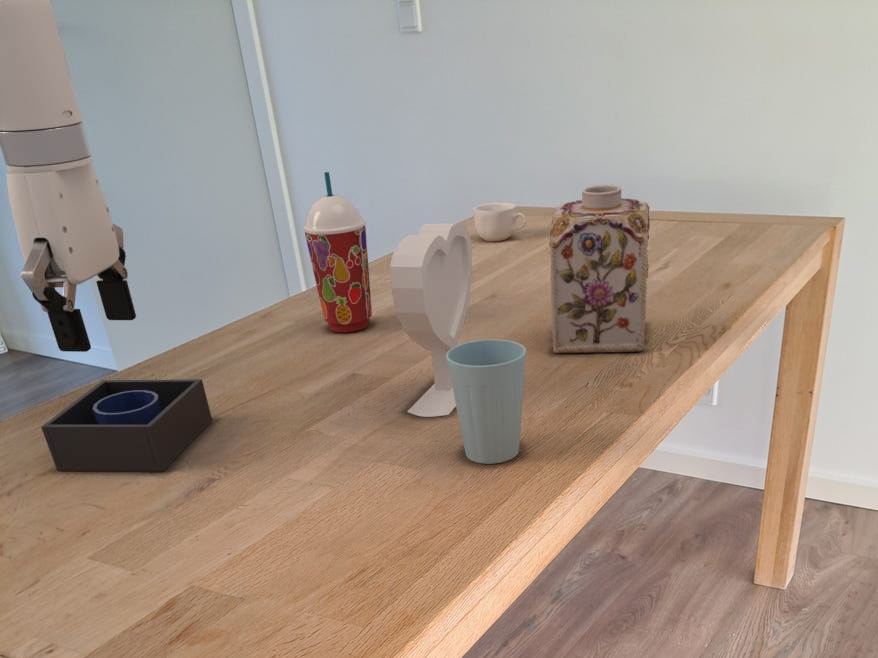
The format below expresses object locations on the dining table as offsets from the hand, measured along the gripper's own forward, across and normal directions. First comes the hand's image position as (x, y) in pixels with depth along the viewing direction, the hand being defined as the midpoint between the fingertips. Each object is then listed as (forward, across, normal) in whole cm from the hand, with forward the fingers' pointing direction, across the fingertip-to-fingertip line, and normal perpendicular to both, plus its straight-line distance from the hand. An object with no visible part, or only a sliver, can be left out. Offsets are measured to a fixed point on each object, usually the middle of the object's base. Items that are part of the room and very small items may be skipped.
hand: (99, 334), depth 94 cm
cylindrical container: (+12, 0, +1) cm, 12 cm away
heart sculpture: (+12, -14, +33) cm, 38 cm away
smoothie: (+12, -40, +14) cm, 44 cm away
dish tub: (+12, 0, +1) cm, 12 cm away
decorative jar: (+11, -33, +50) cm, 61 cm away
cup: (+12, +2, +41) cm, 42 cm away
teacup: (+12, -90, +29) cm, 96 cm away
